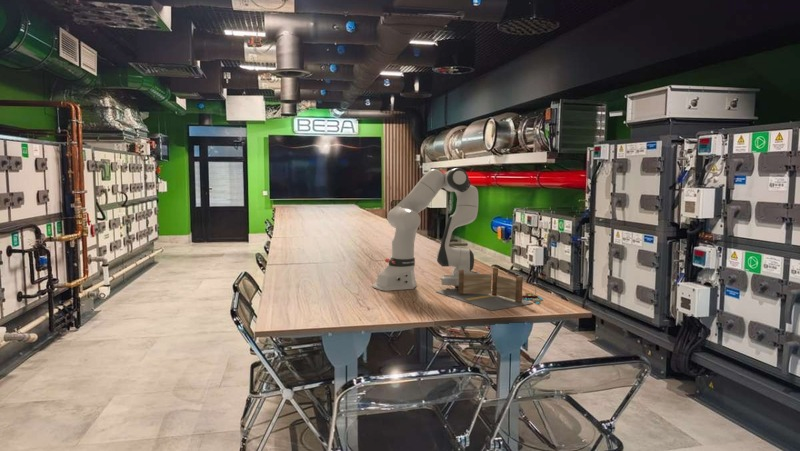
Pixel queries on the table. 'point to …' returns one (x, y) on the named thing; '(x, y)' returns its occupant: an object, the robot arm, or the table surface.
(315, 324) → the table surface
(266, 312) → the table surface
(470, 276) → the fence panel
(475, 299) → the board
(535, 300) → the gear mechanism
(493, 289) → the fence fixed
